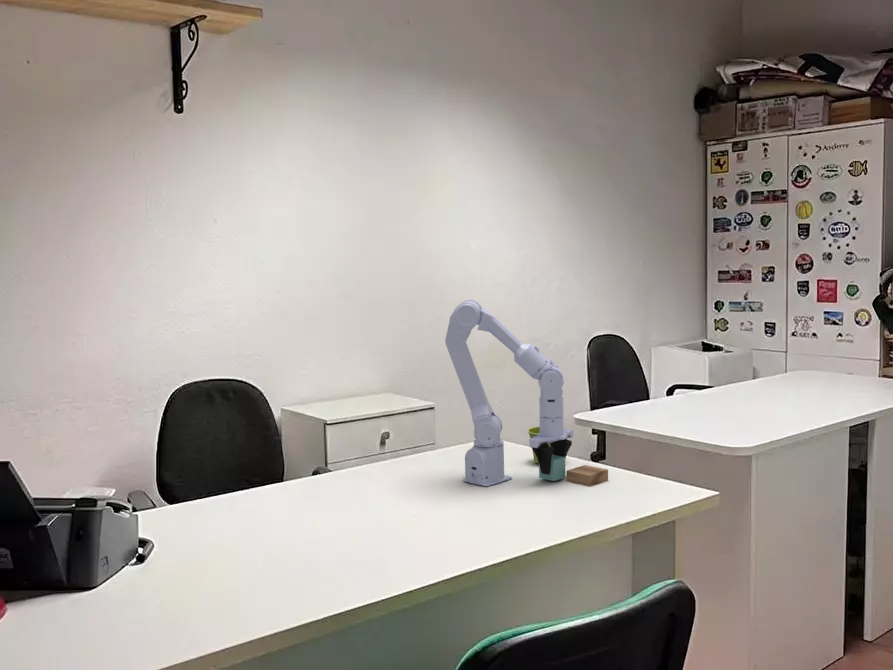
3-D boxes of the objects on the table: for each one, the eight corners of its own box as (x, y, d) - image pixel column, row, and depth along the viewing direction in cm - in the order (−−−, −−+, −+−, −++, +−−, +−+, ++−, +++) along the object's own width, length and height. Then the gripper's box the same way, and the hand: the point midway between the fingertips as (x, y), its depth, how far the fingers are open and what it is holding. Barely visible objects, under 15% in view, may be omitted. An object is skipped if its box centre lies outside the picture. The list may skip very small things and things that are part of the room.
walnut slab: (589, 488, 211) (589, 475, 210) (566, 482, 216) (566, 470, 215) (608, 481, 215) (608, 469, 215) (585, 476, 220) (584, 464, 220)
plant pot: (566, 466, 230) (565, 433, 229) (529, 467, 230) (528, 434, 229) (562, 457, 239) (561, 425, 238) (526, 458, 239) (526, 426, 238)
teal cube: (553, 481, 214) (553, 460, 214) (539, 477, 217) (538, 457, 217) (565, 477, 217) (565, 457, 217) (550, 474, 220) (550, 454, 220)
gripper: (545, 423, 208) (546, 480, 209) (583, 413, 218) (583, 468, 219) (522, 419, 213) (523, 475, 214) (559, 410, 223) (560, 463, 224)
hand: (552, 471), depth 217 cm, fingers closed on teal cube, 4 cm apart
